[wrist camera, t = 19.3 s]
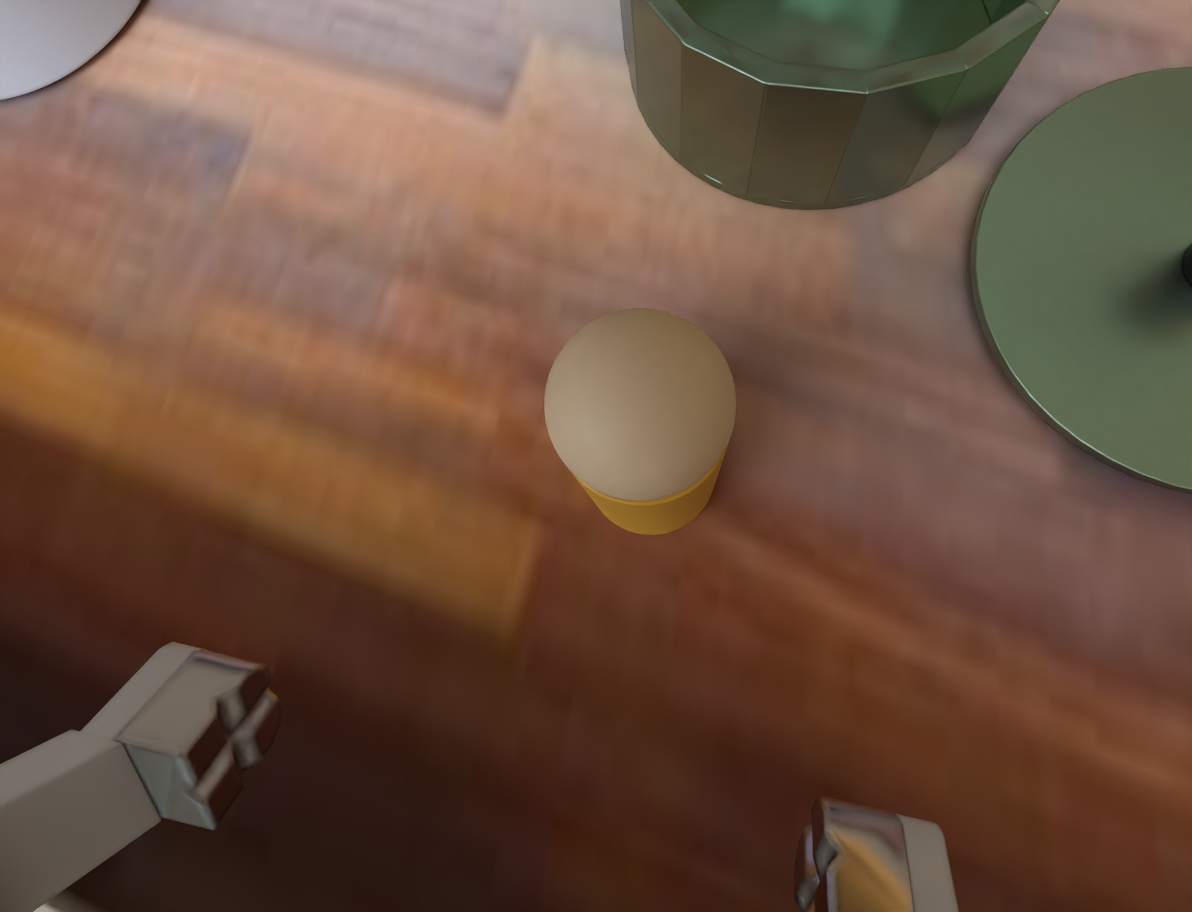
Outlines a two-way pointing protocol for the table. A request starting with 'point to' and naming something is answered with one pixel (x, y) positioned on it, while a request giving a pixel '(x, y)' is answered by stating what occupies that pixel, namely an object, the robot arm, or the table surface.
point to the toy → (642, 416)
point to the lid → (1099, 273)
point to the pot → (821, 88)
